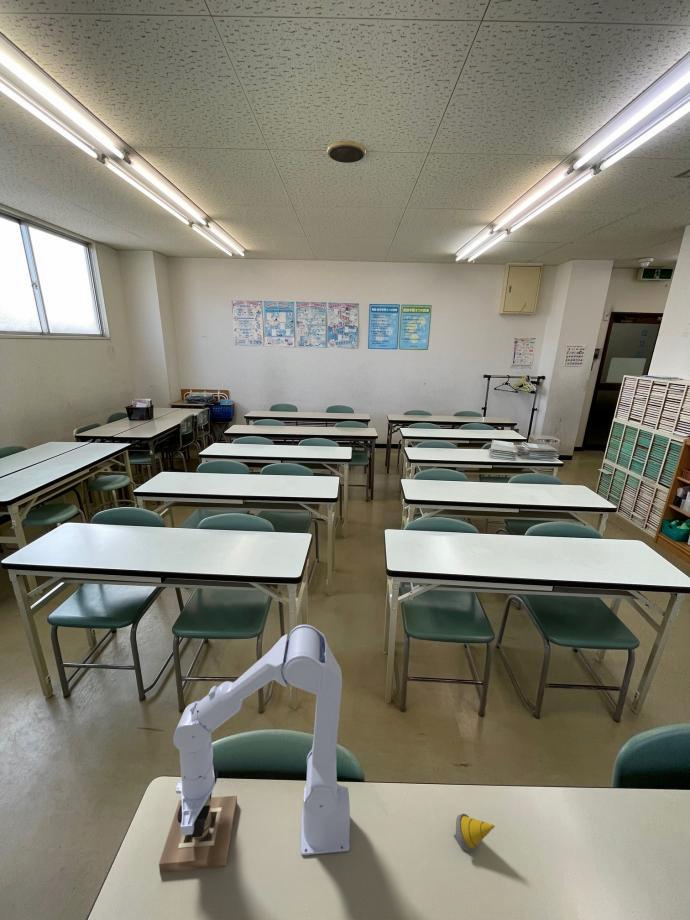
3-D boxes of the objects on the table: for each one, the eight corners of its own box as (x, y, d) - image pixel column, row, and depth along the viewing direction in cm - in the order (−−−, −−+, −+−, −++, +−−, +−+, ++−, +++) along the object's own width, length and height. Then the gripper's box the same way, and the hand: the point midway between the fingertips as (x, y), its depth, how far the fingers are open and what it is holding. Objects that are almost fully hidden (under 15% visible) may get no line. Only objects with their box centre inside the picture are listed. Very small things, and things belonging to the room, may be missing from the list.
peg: (214, 824, 78) (212, 792, 76) (208, 846, 74) (206, 813, 72) (195, 824, 77) (193, 792, 76) (188, 847, 74) (186, 814, 72)
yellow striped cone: (457, 819, 80) (497, 809, 76) (464, 855, 75) (507, 847, 71) (442, 815, 78) (482, 804, 73) (448, 852, 73) (491, 843, 69)
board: (237, 803, 82) (236, 795, 81) (225, 866, 71) (225, 857, 70) (179, 807, 81) (179, 799, 80) (159, 872, 70) (158, 863, 69)
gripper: (187, 732, 79) (191, 785, 82) (160, 808, 65) (165, 869, 68) (222, 730, 80) (224, 783, 82) (202, 804, 66) (206, 865, 68)
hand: (200, 821), depth 75 cm, fingers closed on peg, 4 cm apart
